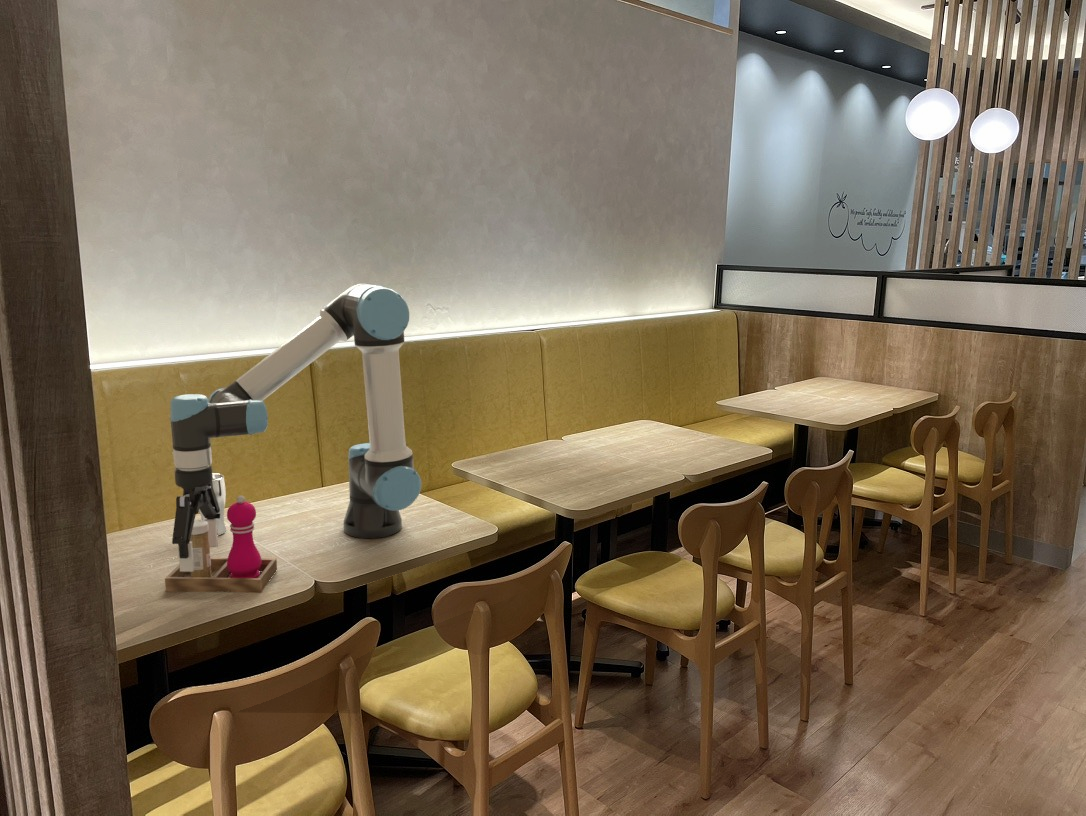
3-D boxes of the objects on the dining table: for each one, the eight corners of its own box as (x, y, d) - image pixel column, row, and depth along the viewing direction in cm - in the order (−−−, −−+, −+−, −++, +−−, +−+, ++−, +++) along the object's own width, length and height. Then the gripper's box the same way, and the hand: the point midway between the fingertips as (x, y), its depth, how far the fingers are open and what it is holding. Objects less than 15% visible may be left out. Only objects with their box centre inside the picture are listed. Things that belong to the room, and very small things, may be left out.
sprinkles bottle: (216, 578, 182) (212, 521, 179) (199, 586, 178) (195, 528, 175) (203, 574, 184) (198, 518, 181) (185, 581, 180) (181, 524, 177)
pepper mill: (222, 580, 181) (217, 495, 177) (253, 571, 186) (249, 488, 182) (236, 591, 176) (231, 503, 172) (268, 581, 181) (263, 496, 177)
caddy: (277, 570, 187) (276, 558, 186) (260, 592, 175) (260, 579, 175) (187, 569, 186) (186, 557, 186) (165, 591, 175) (164, 578, 174)
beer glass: (217, 538, 205) (214, 482, 202) (193, 536, 206) (189, 479, 203) (233, 529, 212) (230, 474, 208) (209, 527, 213) (205, 472, 210)
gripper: (198, 450, 187) (204, 537, 192) (149, 483, 163) (157, 581, 167) (231, 451, 187) (236, 537, 192) (187, 484, 163) (194, 582, 168)
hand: (199, 558), depth 180 cm, fingers open, 13 cm apart
